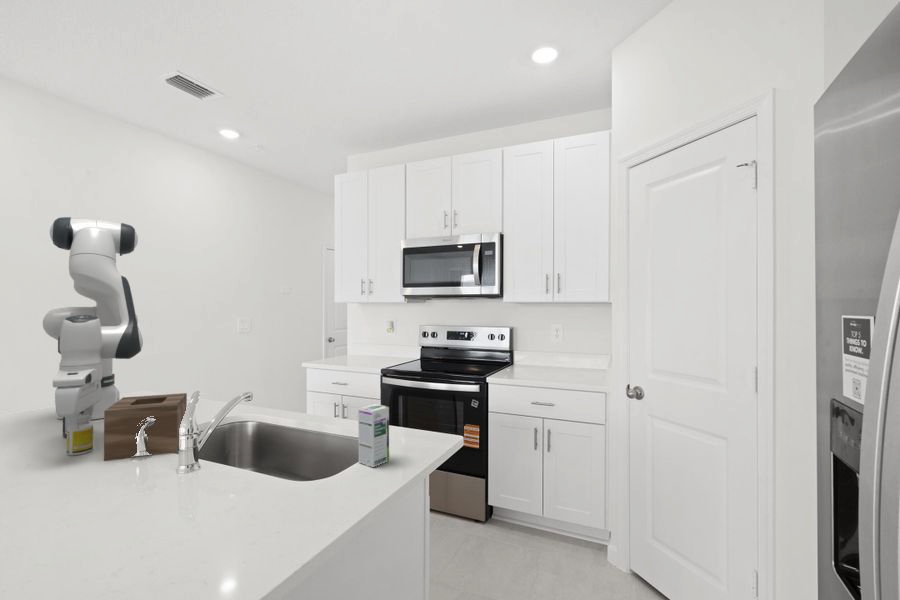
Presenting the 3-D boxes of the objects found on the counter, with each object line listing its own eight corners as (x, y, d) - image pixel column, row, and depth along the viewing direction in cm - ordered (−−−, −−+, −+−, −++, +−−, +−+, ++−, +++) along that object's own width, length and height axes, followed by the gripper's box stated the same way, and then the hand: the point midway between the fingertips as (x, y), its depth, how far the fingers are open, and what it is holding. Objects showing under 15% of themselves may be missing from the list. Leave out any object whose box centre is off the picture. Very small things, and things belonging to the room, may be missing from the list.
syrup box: (373, 468, 105) (373, 410, 105) (357, 463, 109) (358, 407, 109) (389, 461, 110) (390, 406, 110) (374, 456, 113) (374, 402, 113)
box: (122, 441, 123) (123, 397, 123) (186, 434, 130) (186, 393, 130) (103, 460, 109) (104, 410, 109) (176, 452, 115) (177, 404, 115)
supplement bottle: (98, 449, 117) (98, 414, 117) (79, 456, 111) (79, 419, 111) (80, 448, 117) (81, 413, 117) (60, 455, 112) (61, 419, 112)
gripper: (81, 370, 123) (81, 417, 122) (49, 381, 104) (48, 437, 104) (108, 368, 125) (107, 415, 125) (81, 379, 107) (81, 434, 106)
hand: (80, 425), depth 114 cm, fingers open, 8 cm apart
